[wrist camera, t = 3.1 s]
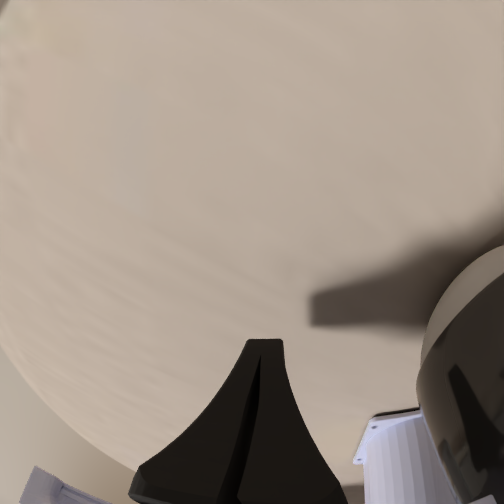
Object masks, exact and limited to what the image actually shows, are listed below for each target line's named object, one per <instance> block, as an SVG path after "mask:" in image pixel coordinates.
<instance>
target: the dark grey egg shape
mask: <svg viewBox="0 0 504 504" xmlns="http://www.w3.org/2000/svg"><path fill="white" fill-rule="evenodd" d="M416 394H417V399H418V404H419V408H420V412H421V415H422V419H423V422H424V425H425V428H426V430H427V433H428V436H429V438H430V441H431V444H432V447H433V449H434V452H435V455H436V457H437V460H438V463H439V465H440V468H441V470H442V473H443V475H444V478H445V480H446V482H447V485H448V487H449V489H450V491H451V494H452V496H453V498H454V500H455V502H456V504H469V503H471V502H474V501H476V500H479V499H481V498H484V497H486V496H488V495H493V497H494V499H495V501H496V503H497V504H504V245H502V246H499V247H497V248H495V249H493V250H491V251H489V252H487V253H485V254H484V255H482V256H480V257H479V258H478V259H476V260H475V261H473V262H472V263H471V264H470V265H469V266H467V267H466V268H465V269H464V270H463V271H462V272H461V273H460V274H459V275H458V276H457V277H456V278H455V279H454V281H453V282H452V283H451V284H450V285H449V287H448V288H447V290H446V291H445V292H444V294H443V295H442V297H441V298H440V300H439V302H438V304H437V305H436V307H435V309H434V311H433V313H432V315H431V318H430V320H429V323H428V326H427V329H426V332H425V336H424V340H423V345H422V351H421V364H420V371H419V374H418V377H417V383H416Z"/></svg>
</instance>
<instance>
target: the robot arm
mask: <svg viewBox="0 0 504 504" xmlns="http://www.w3.org/2000/svg"><path fill="white" fill-rule="evenodd" d="M353 464H355V465H358V464H363V469H364V490H365V504H456V502H455V500H454V498H453V496H452V494H451V491H450V489H449V487H448V485H447V482H446V480H445V478H444V475H443V473H442V470H441V468H440V465H439V463H438V460H437V457H436V455H435V452H434V449H433V447H432V444H431V441H430V438H429V436H428V433H427V430H426V428H425V425H424V422H423V419H422V415H421V412H420V410H417V411H412V412H406V413H400V414H393V415H386V416H378V417H374V418H372V419H370V421H369V423H368V425H367V428H366V430H365V433H364V435H363V438H362V440H361V442H360V445H359V447H358V449H357V452H356V454H355V456H354V459H353ZM128 495H129V497H130V498H131V499H133V500H134V501H136V502H138V503H140V504H348V502H347V499H346V497H345V494H344V492H343V490H342V488H341V485H340V482H339V481H338V479H337V478H336V477H335V475H334V474H333V472H332V471H331V469H330V468H329V466H328V465H327V463H326V462H325V460H324V458H323V457H322V455H321V453H320V452H319V450H318V448H317V446H316V444H315V443H314V441H313V439H312V437H311V435H310V433H309V431H308V429H307V427H306V425H305V423H304V421H303V418H302V416H301V414H300V411H299V409H298V406H297V404H296V401H295V398H294V396H293V393H292V390H291V387H290V383H289V379H288V376H287V372H286V368H285V359H284V347H283V340H281V339H249V340H247V341H246V344H245V346H244V348H243V350H242V353H241V355H240V356H239V358H238V360H237V362H236V364H235V366H234V368H233V369H232V371H231V373H230V374H229V376H228V377H227V379H226V381H225V382H224V384H223V385H222V387H221V388H220V390H219V391H218V392H217V394H216V395H215V397H214V398H213V399H212V401H211V402H210V403H209V405H208V406H207V407H206V408H205V409H204V411H203V412H202V413H201V414H200V415H199V416H198V418H197V419H196V420H195V421H194V422H193V423H192V424H191V425H190V426H189V427H188V428H187V429H186V430H185V431H184V432H183V433H182V434H181V435H180V436H178V437H177V438H176V439H175V440H174V441H173V442H171V443H170V444H169V445H168V446H167V447H165V448H164V449H163V450H162V451H160V452H159V453H158V454H156V455H155V456H153V457H152V458H150V459H149V460H148V461H146V462H145V463H143V464H142V465H140V466H139V468H138V470H137V472H136V474H135V476H134V478H133V481H132V484H131V487H130V490H129V493H128ZM19 504H112V503H109V502H107V501H104V500H102V499H99V498H96V497H94V496H92V495H90V494H87V493H85V492H83V491H81V490H78V489H76V488H74V487H72V486H70V485H68V484H66V483H64V482H63V481H62V480H60V479H59V478H57V477H55V476H54V475H52V474H50V473H48V472H46V471H45V470H43V469H41V468H39V467H38V466H34V468H33V471H32V473H31V475H30V477H29V480H28V482H27V484H26V487H25V489H24V491H23V494H22V496H21V498H20V501H19ZM469 504H497V503H496V501H495V499H494V497H493V495H488V496H486V497H484V498H481V499H479V500H476V501H474V502H471V503H469Z"/></svg>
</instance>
